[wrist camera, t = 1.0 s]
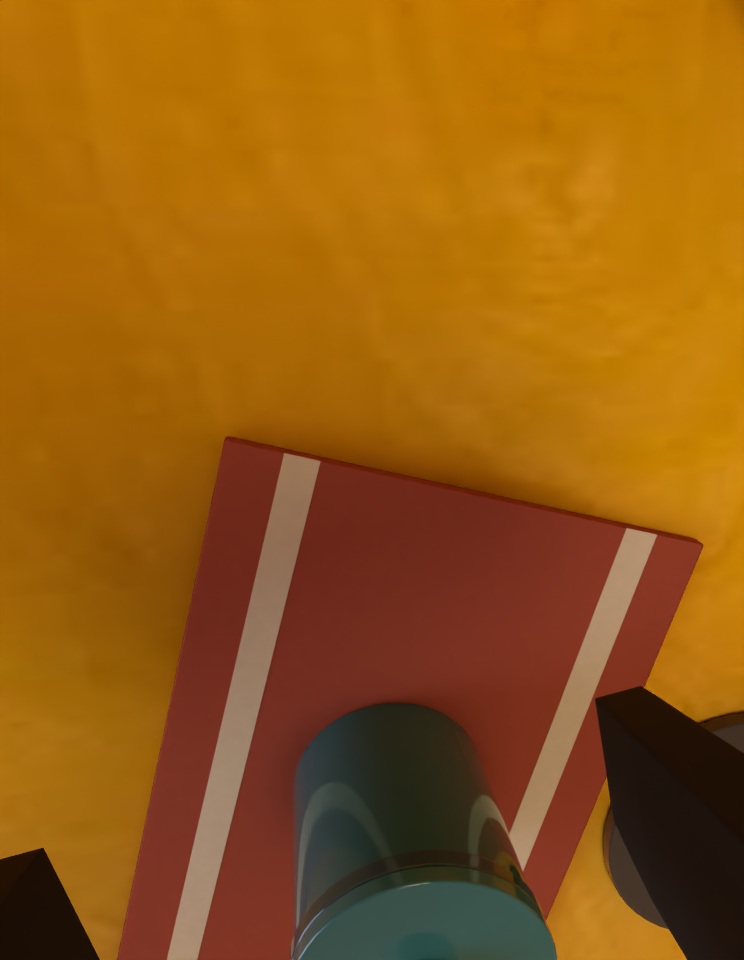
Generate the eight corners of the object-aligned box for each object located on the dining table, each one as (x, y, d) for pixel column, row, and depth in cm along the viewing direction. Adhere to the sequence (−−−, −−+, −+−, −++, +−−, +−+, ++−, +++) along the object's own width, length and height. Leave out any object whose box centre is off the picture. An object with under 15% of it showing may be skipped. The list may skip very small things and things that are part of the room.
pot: (453, 870, 22) (520, 1126, 15) (270, 849, 21) (260, 1113, 14) (509, 715, 20) (610, 928, 14) (315, 684, 19) (326, 898, 13)
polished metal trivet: (786, 932, 25) (795, 945, 24) (566, 907, 23) (572, 921, 23) (895, 732, 22) (908, 742, 22) (659, 691, 21) (667, 701, 20)
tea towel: (500, 1011, 24) (503, 1024, 24) (113, 980, 22) (110, 993, 22) (696, 539, 20) (705, 545, 19) (225, 435, 17) (224, 440, 17)
